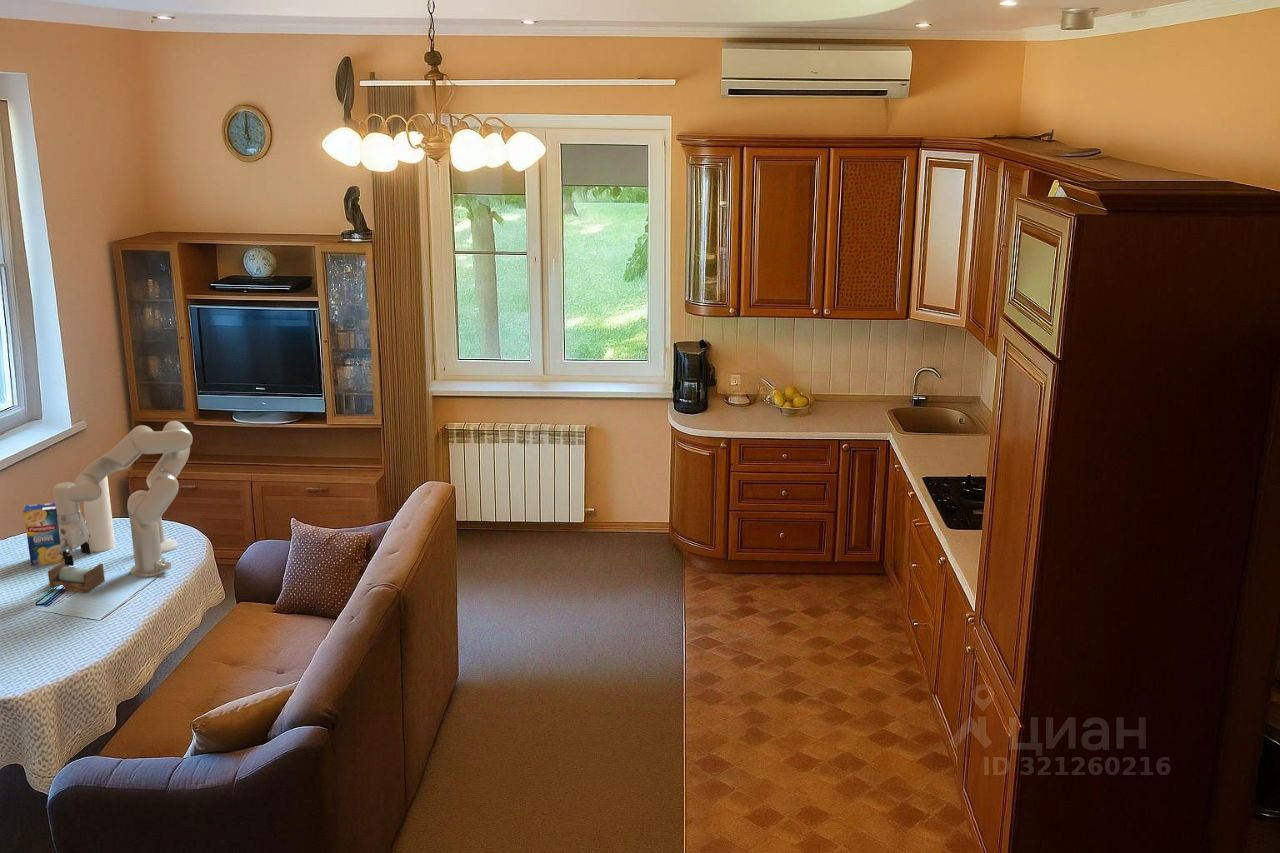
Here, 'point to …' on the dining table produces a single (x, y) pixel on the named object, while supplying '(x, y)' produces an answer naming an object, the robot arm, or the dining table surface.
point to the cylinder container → (100, 520)
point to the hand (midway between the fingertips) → (78, 559)
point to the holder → (90, 582)
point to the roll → (72, 575)
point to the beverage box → (42, 533)
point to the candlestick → (165, 540)
